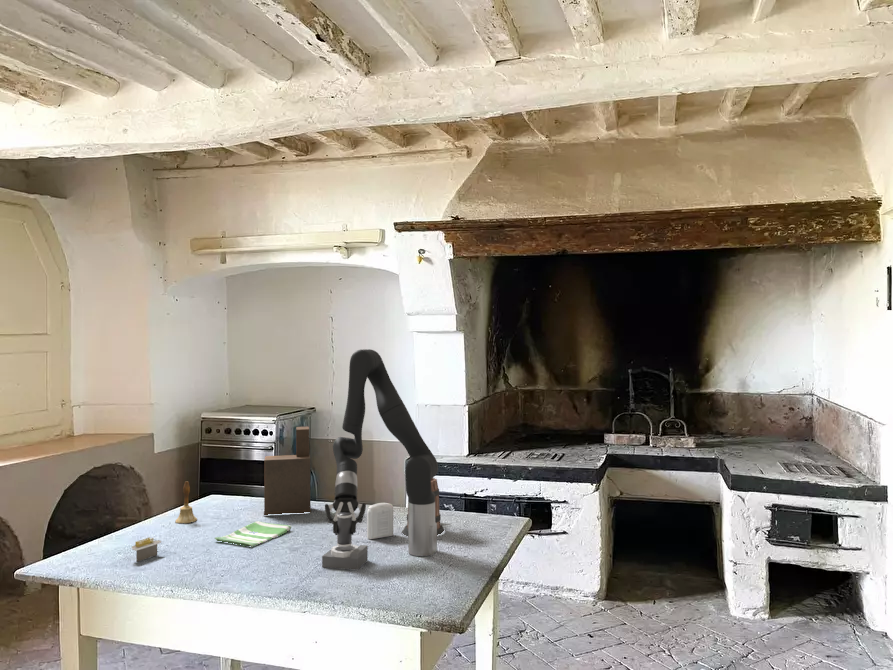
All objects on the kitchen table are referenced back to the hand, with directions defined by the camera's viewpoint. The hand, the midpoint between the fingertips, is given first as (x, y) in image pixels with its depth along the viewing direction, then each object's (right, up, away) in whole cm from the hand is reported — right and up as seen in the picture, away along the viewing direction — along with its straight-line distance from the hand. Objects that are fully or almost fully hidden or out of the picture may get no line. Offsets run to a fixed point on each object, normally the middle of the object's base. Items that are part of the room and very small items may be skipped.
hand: (344, 533), depth 209 cm
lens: (0, -4, +2) cm, 5 cm away
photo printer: (+8, -11, +32) cm, 34 cm away
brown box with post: (-34, -12, +69) cm, 78 cm away
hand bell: (-73, -12, +54) cm, 91 cm away
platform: (-68, -11, +8) cm, 69 cm away
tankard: (+25, -11, +41) cm, 49 cm away
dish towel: (-39, -12, +33) cm, 52 cm away
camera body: (0, -10, +2) cm, 10 cm away
